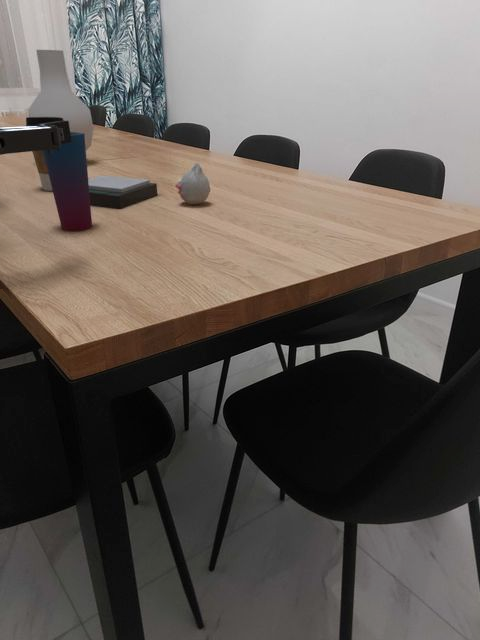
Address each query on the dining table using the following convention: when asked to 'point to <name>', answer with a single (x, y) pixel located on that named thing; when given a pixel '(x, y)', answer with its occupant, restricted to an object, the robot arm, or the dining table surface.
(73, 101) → the vase
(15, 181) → the dining table surface
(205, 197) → the figurine
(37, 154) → the coffee cup
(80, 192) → the cup
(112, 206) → the scale
